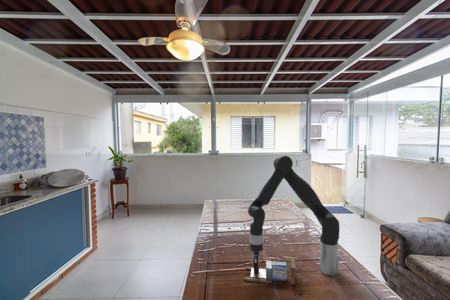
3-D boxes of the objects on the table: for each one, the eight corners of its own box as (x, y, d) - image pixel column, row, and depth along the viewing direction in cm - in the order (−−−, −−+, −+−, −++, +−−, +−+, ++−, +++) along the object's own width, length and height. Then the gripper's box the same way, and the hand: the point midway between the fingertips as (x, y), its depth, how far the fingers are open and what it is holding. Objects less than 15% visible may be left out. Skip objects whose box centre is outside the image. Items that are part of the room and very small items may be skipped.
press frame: (293, 272, 138) (293, 257, 137) (295, 285, 126) (295, 268, 126) (246, 268, 143) (246, 253, 142) (244, 280, 131) (243, 264, 131)
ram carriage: (271, 271, 138) (271, 255, 138) (271, 280, 130) (271, 263, 130) (251, 270, 141) (251, 254, 140) (250, 278, 132) (250, 261, 132)
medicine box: (272, 280, 131) (272, 264, 130) (271, 275, 135) (271, 260, 135) (287, 281, 130) (287, 265, 130) (285, 276, 134) (285, 261, 134)
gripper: (262, 247, 127) (262, 279, 128) (263, 236, 141) (263, 265, 142) (248, 246, 129) (248, 277, 130) (250, 235, 142) (250, 264, 143)
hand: (256, 271), depth 136 cm, fingers closed on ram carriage, 3 cm apart
